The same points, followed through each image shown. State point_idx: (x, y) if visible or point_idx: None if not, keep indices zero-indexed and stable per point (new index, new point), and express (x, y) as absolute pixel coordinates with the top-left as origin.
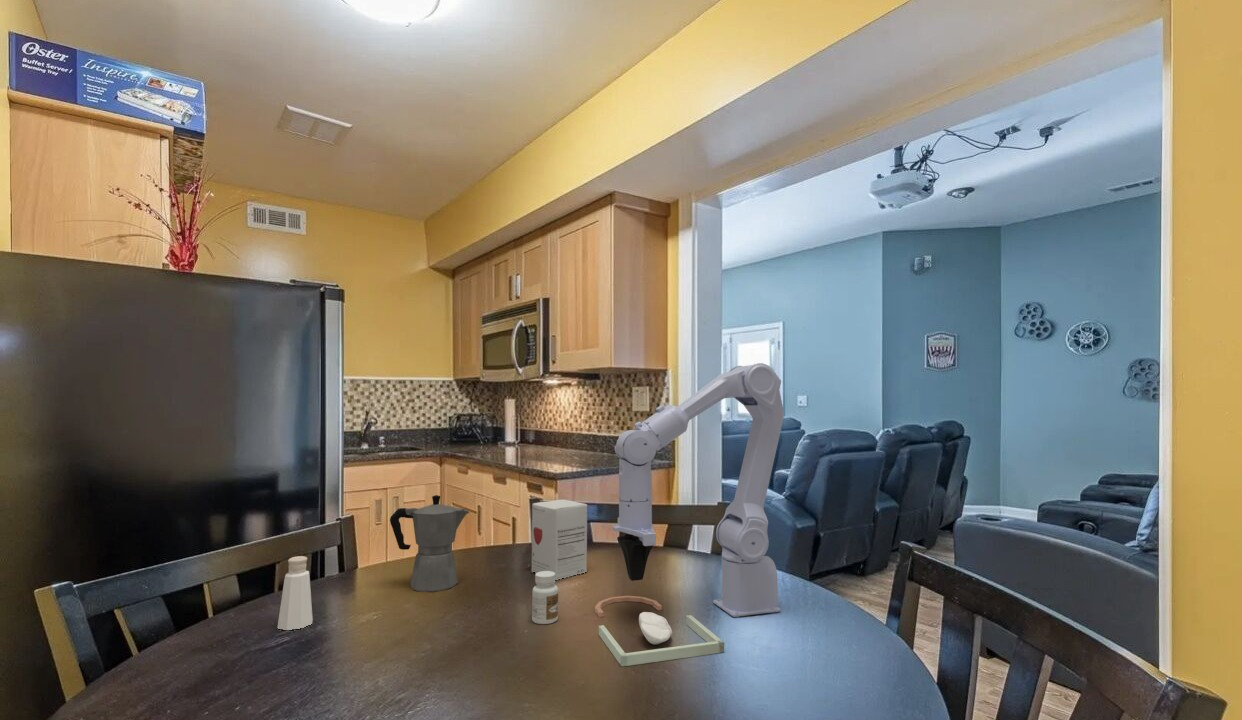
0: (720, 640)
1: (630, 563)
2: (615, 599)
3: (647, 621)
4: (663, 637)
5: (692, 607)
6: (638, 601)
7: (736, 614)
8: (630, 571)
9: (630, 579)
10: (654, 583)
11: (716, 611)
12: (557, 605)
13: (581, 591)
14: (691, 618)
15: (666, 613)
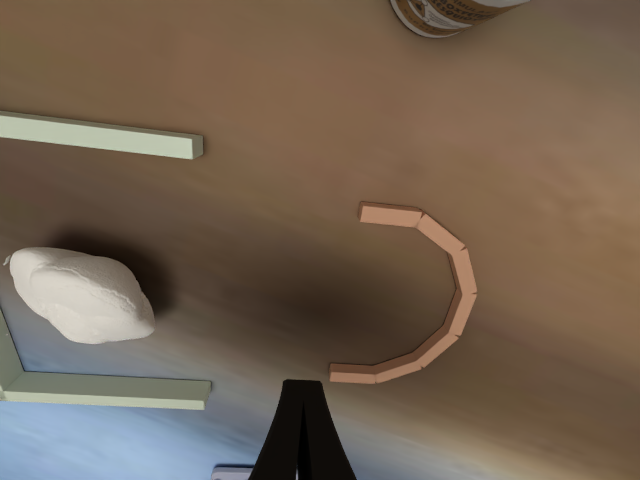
0: (8, 398)
1: (254, 466)
2: (458, 299)
3: (32, 283)
4: (17, 289)
5: None
6: (417, 348)
7: (211, 477)
8: (275, 417)
9: (300, 380)
10: (518, 425)
11: None
12: (427, 9)
13: (621, 237)
14: (177, 402)
15: (301, 372)
